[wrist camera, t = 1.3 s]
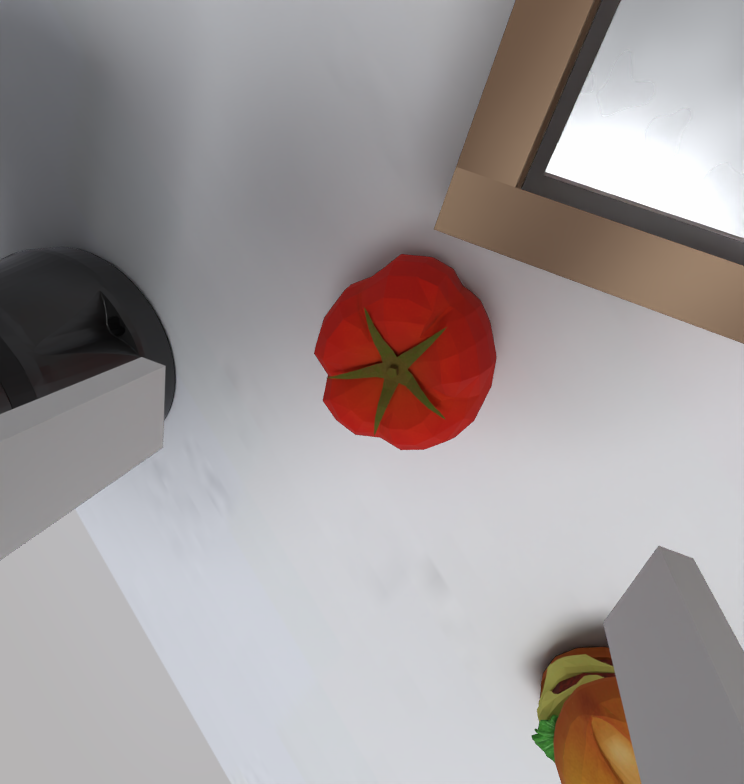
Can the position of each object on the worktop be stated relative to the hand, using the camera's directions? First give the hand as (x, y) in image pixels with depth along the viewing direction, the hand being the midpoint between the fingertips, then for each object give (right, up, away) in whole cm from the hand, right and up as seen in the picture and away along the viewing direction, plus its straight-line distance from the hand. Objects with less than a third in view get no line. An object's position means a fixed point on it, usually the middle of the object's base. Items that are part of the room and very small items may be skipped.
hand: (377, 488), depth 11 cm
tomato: (+3, +6, +14) cm, 16 cm away
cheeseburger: (+16, -18, +19) cm, 31 cm away
